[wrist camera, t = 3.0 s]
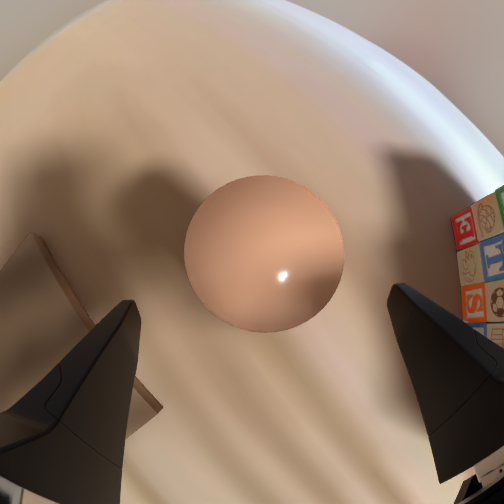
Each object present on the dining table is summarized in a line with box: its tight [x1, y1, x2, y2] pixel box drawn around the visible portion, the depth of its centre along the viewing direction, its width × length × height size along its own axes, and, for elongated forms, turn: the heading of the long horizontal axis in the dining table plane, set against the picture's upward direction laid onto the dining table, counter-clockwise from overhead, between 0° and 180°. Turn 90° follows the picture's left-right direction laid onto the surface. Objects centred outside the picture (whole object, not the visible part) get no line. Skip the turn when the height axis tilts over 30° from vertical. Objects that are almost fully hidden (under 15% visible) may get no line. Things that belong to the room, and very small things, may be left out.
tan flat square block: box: [0, 232, 163, 439], centre depth 15 cm, size 16×16×2 cm
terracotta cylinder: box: [184, 176, 344, 333], centre depth 14 cm, size 5×5×10 cm
